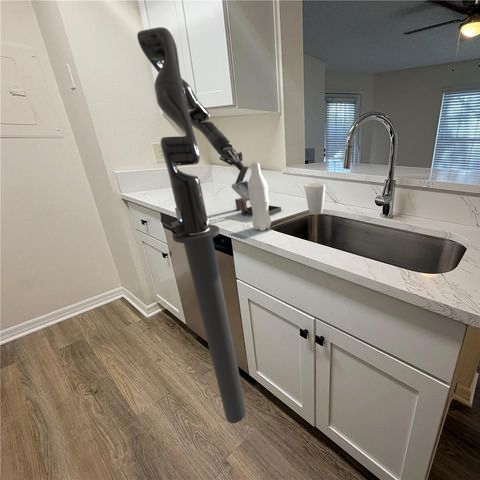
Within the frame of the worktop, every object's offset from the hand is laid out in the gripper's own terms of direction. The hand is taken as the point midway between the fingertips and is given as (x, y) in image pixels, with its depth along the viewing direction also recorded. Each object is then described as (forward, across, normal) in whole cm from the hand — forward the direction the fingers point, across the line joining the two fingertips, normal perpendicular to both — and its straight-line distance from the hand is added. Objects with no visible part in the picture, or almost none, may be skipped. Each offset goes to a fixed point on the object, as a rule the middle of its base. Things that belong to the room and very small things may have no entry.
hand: (242, 169), depth 120 cm
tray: (+20, 0, -8) cm, 21 cm away
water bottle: (+31, +18, +2) cm, 35 cm away
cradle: (+12, 0, -15) cm, 19 cm away
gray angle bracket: (+7, 0, -8) cm, 11 cm away
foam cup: (+37, -10, +8) cm, 39 cm away
